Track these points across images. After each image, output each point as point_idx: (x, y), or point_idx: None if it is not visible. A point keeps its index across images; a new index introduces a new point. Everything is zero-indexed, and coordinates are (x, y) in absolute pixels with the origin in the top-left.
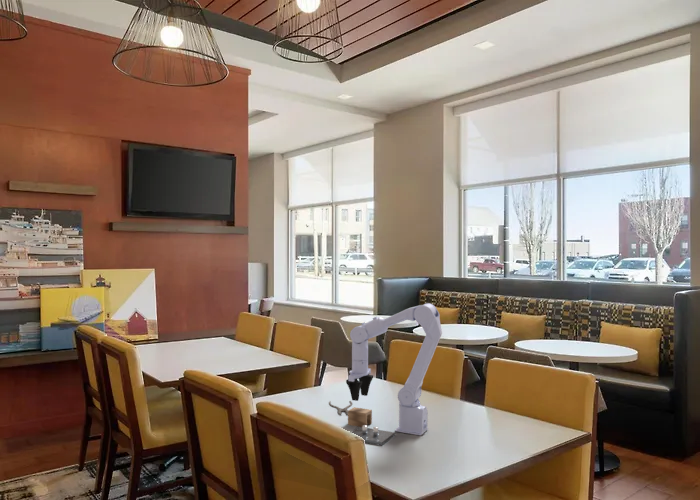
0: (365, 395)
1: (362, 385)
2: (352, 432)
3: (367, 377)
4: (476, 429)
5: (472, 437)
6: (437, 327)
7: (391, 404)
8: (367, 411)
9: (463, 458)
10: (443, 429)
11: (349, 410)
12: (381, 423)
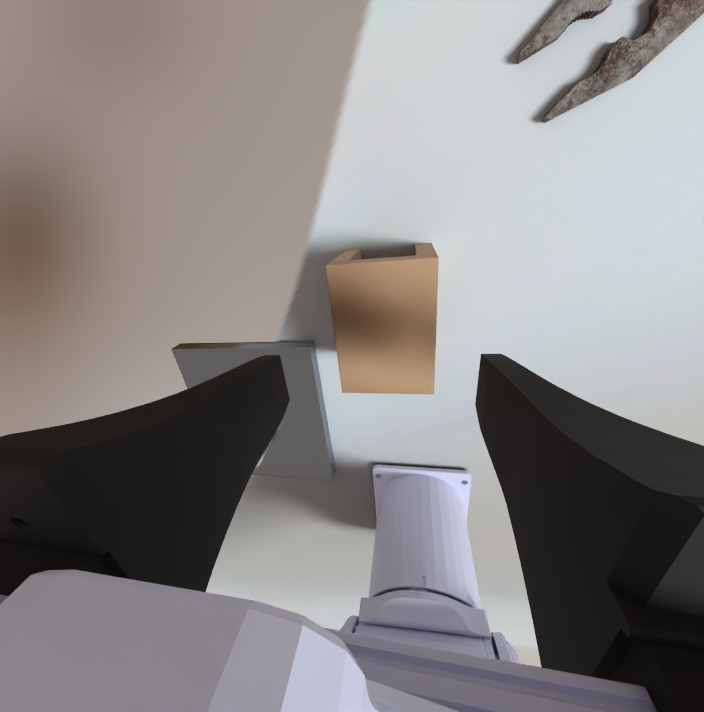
0: (476, 396)
1: (520, 435)
2: (224, 354)
3: (565, 662)
4: (527, 628)
5: None
6: None
7: None
8: (384, 385)
9: (290, 601)
10: (484, 570)
11: (336, 271)
12: (456, 389)
